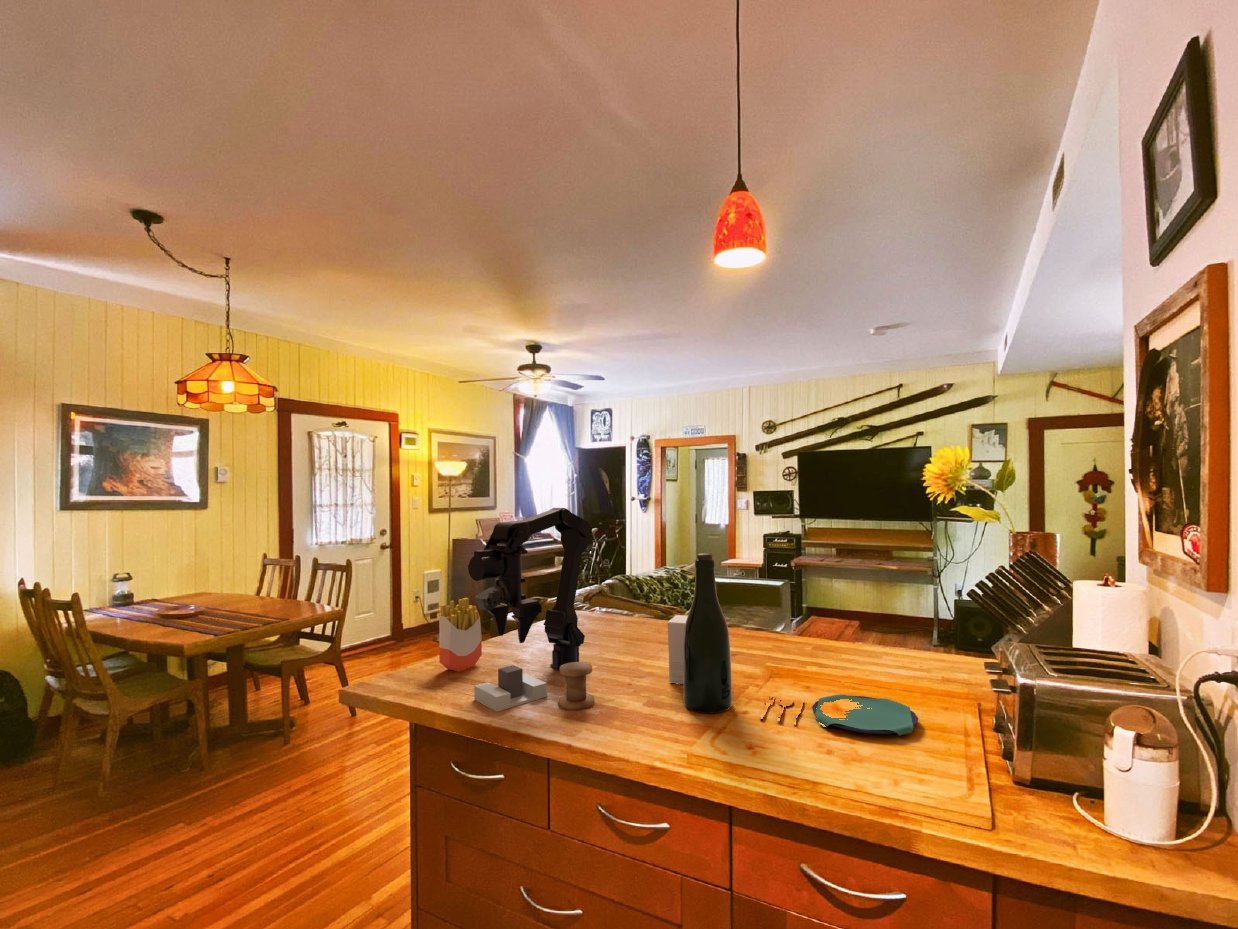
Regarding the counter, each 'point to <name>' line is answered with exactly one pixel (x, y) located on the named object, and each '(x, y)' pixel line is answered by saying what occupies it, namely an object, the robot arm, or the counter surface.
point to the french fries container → (459, 636)
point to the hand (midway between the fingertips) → (511, 639)
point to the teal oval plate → (870, 715)
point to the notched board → (502, 699)
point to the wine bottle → (706, 646)
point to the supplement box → (676, 648)
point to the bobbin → (576, 686)
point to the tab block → (511, 680)
